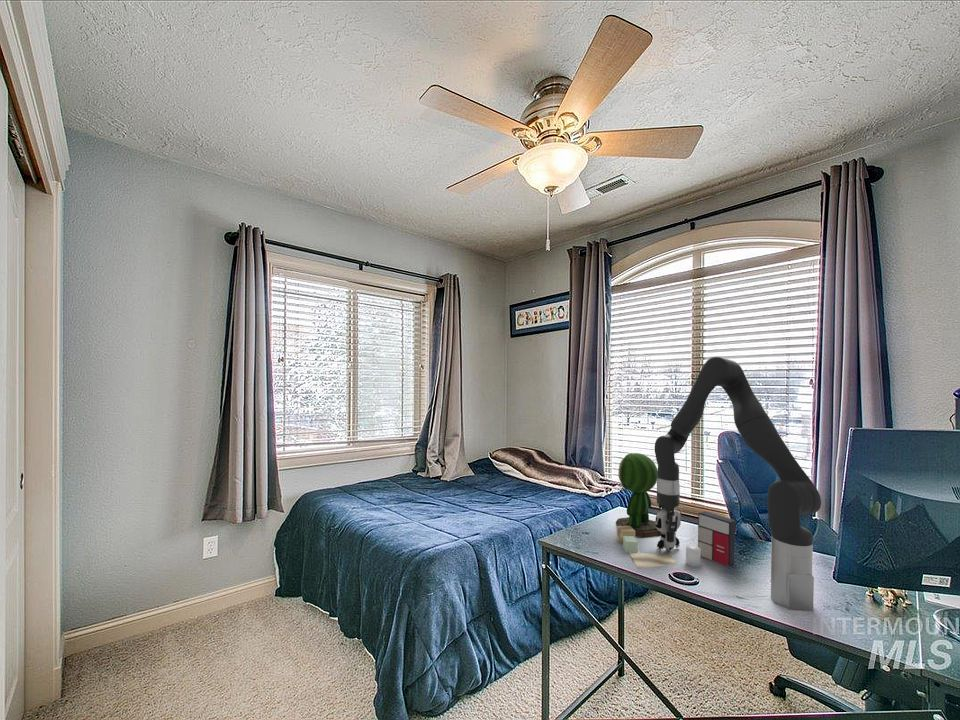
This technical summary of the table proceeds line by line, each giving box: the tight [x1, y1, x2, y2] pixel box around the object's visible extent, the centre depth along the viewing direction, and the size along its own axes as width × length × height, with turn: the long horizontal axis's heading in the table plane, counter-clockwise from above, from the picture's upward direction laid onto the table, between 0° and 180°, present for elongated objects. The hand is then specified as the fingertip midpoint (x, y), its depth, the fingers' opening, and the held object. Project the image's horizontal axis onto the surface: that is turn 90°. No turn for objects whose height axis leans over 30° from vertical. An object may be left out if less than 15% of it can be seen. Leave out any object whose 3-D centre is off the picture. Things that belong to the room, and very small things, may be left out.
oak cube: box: [616, 525, 636, 546], centre depth 166 cm, size 5×5×5 cm
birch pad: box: [629, 552, 678, 570], centre depth 148 cm, size 12×14×1 cm
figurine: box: [615, 452, 662, 539], centre depth 178 cm, size 17×20×30 cm
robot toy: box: [655, 508, 683, 554], centre depth 158 cm, size 12×4×15 cm, turn 118°
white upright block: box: [685, 544, 702, 568], centre depth 147 cm, size 4×4×6 cm
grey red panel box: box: [697, 510, 737, 566], centre depth 151 cm, size 11×4×15 cm, turn 34°
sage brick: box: [622, 536, 639, 553], centre depth 159 cm, size 5×4×4 cm
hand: (667, 538), depth 158 cm, fingers closed on robot toy, 5 cm apart
